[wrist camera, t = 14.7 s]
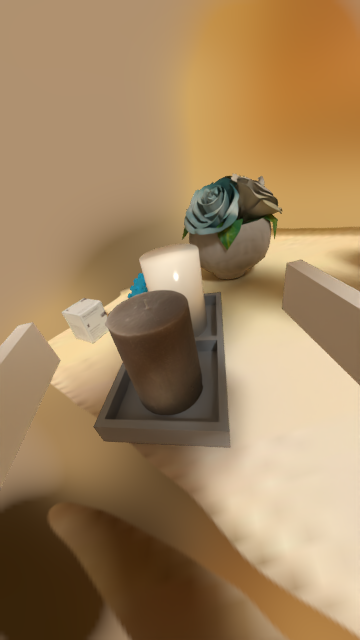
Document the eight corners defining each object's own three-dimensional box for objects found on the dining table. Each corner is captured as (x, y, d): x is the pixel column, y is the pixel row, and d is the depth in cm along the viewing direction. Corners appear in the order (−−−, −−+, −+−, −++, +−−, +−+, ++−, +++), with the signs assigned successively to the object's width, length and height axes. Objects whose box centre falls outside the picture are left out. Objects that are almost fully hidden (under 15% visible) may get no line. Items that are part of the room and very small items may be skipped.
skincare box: (93, 344, 46) (78, 316, 42) (75, 338, 49) (60, 311, 45) (113, 327, 50) (101, 300, 46) (95, 323, 53) (82, 297, 49)
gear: (123, 292, 61) (141, 263, 57) (141, 300, 64) (159, 273, 61) (128, 315, 53) (149, 283, 49) (148, 323, 56) (170, 293, 53)
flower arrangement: (296, 279, 54) (314, 159, 40) (200, 303, 52) (185, 186, 38) (250, 252, 74) (251, 167, 61) (180, 269, 72) (165, 185, 59)
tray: (221, 305, 50) (220, 292, 48) (230, 447, 25) (229, 431, 23) (155, 310, 53) (152, 298, 51) (104, 441, 28) (93, 426, 26)
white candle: (207, 310, 47) (199, 240, 39) (206, 339, 39) (196, 260, 31) (164, 313, 49) (147, 248, 41) (154, 342, 41) (131, 268, 33)
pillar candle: (216, 391, 30) (205, 296, 22) (154, 431, 27) (113, 338, 18) (181, 354, 37) (163, 273, 29) (129, 382, 34) (92, 300, 26)
